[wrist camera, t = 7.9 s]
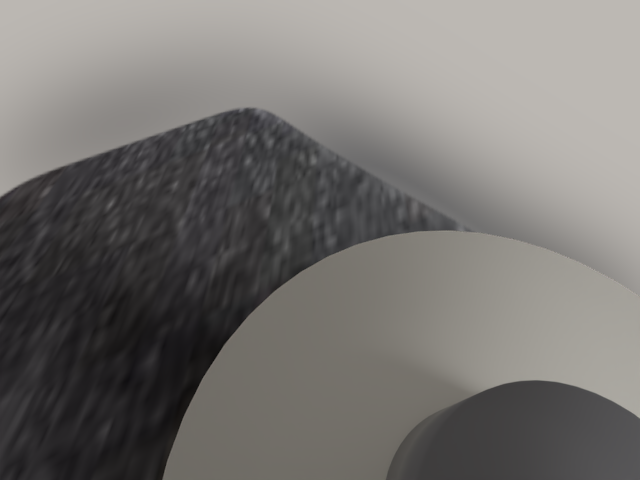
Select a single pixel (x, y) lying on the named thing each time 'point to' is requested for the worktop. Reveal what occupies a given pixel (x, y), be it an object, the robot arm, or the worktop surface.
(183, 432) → the white bottle
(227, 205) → the worktop surface
